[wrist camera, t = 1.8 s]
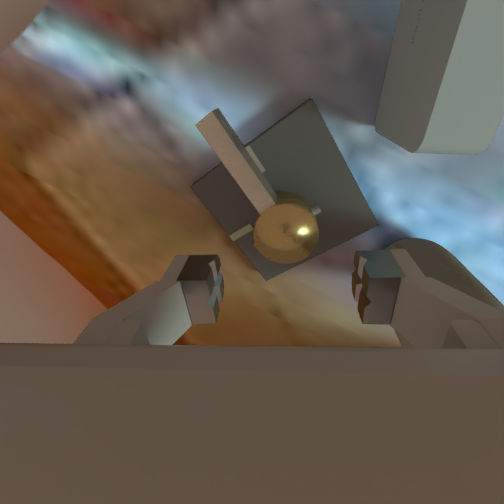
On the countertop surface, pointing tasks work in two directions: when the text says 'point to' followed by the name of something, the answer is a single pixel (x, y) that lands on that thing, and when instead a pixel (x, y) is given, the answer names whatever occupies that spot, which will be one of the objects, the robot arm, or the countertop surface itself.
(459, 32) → the bar with end hole
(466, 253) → the countertop surface
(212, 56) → the countertop surface
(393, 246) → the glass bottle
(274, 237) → the gold knob with bar
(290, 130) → the plate
